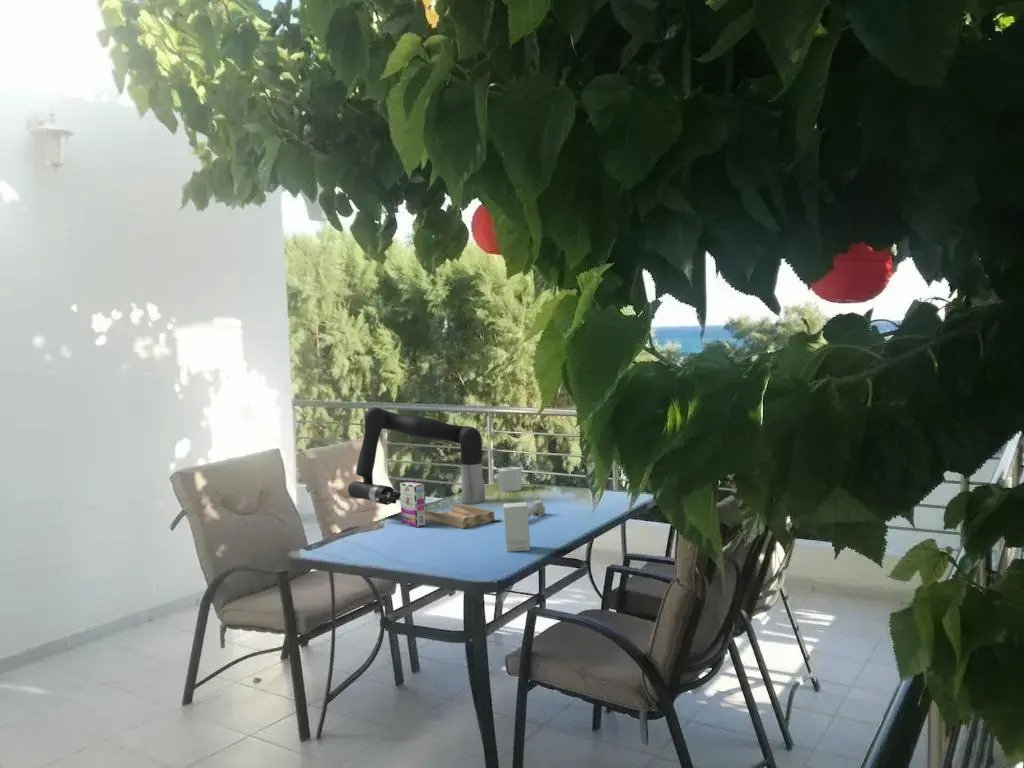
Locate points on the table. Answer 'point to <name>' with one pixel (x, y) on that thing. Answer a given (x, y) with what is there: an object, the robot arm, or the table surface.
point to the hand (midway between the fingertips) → (404, 499)
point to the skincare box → (516, 527)
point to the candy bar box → (413, 503)
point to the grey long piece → (536, 509)
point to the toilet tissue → (510, 479)
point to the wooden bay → (461, 516)
